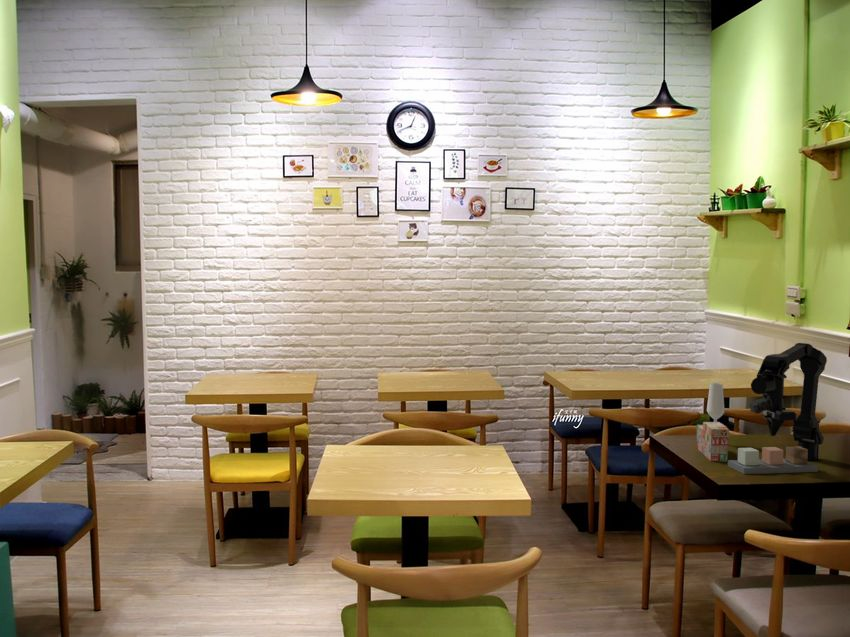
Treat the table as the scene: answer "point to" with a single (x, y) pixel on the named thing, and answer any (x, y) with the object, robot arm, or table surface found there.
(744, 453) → the pale green cube
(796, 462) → the walnut key
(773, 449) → the salmon pink cube
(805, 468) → the key board
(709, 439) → the stack of blocks
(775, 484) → the table surface
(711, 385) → the champagne flute
